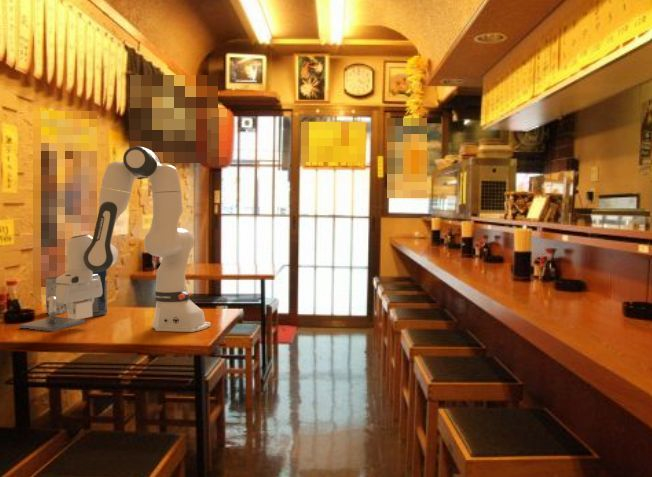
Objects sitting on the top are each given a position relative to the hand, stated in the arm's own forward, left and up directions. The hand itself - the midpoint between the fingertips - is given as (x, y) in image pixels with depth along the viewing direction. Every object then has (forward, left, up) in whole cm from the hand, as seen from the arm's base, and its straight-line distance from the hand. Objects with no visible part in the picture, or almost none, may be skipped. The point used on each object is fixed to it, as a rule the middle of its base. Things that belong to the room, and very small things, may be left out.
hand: (80, 311), depth 193 cm
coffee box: (+34, -22, -7) cm, 41 cm away
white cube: (0, 0, -2) cm, 2 cm away
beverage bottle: (+13, -22, -7) cm, 26 cm away
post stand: (+14, 0, -6) cm, 15 cm away
